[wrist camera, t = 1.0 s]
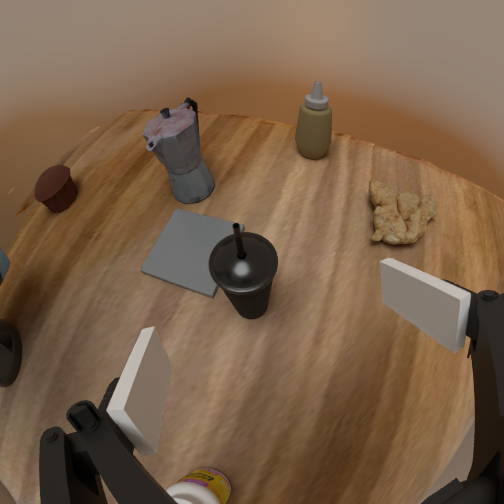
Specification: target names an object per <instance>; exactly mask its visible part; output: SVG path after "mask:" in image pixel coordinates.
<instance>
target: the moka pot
mask: <svg viewBox="0 0 504 504" xmlns="http://www.w3.org/2000/svg"><path fill="white" fill-rule="evenodd" d="M190 106H192V108H193V111H191V110H189V108H190ZM197 109H198V108H197V103H196V102H195V101H193V100H191V99H190V98H187V99H186V100H185V102H184V103H181V104H180V105H179V106H178V108H177V109H173V110H169V108H164V109H162V110H161V111H160V113H161V114H159V115H158V116H156V117H155V118H153V119H152V120H150V121H149V122H148V123H147V125H146V128H145V130H144V132H143V136H144V138H145V139H146V141H147V150H148V151H153V152H154V153H155V155H156V156H157V158H158V159H159V161H160V162H161V163H162V164H163V165H164V166H165V168H166V170H167V172H168V176H169V179H170V183H171V186H172V190H173V193H174V197H175V199H177V200H178V201H180V202H182V203H187V204H191V203H196V202H199V201H201V200H203V199H205V198H206V197H207V196H209V194H210V193H211V192H212V190H213V188H214V180H213V178H212V176H211V173H210V171H209V170H208V168H207V166H206V164H205V162H204V160H203V158H202V156H201V152H200V139H199V127H198V111H197Z"/></svg>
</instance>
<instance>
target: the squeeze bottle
mask: <svg viewBox="0 0 504 504" xmlns="http://www.w3.org/2000/svg"><path fill="white" fill-rule="evenodd" d="M331 127H332V111H331V108H330V107H329V106H328V98H327V97H326V96H324V95H323V92H322V86H321V82H319V81H315V83H314V86H313V89H312V92H311V94H308V95H306V96H305V103H303V104H302V105H301V107H300V111H299V118H298V124H297V129H296V135H295V141H296V143H297V146H298V149H299V152H300V153H301V155H303V156H304V157H306V158H309V159H319V158H321V157H323V156H324V154H325V153H326V151H327V149H328V148H329V146H330V144H331V133H332V128H331Z"/></svg>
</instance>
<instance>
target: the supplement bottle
mask: <svg viewBox="0 0 504 504" xmlns="http://www.w3.org/2000/svg"><path fill="white" fill-rule="evenodd" d="M166 492H167V493H168V494H169V495H170V496H171V497H172V498H173V499H174V500H175V501H176V502H177V503H178V504H226V502H227V500H228V498H229V496H230V493H231V486H230V483H229V481H228V479H227V478H226V477H225V476H224V475H223V474H222V473H220V472H218V471H216V470H214V469H209V468H200V469H196V470H194V471H192V472H190V473H189V474H187V475H186V476H185V477H183V478H182V479H180V480H179V481H177V482H176V483H174V484H173V485H171V486H170V487H169V488H168V489H167V490H166Z"/></svg>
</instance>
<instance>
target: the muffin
mask: <svg viewBox="0 0 504 504" xmlns="http://www.w3.org/2000/svg"><path fill="white" fill-rule="evenodd" d="M77 193H78V191H77V189H76V187H75V185H74V183H73V181H72V178H71V176H70V168H68V167H66V166H63V165H56V166H53V167H50V168H48V169H47V170H45V171H44V172H43V173H42V174H41V176H40V177H39V179H38V181H37V183H36V186H35V199H36V200H37V201H38V202H42V203H43V204H44V205H45V206H47V207H48V208H49V209H50V210H51V211H53V212H54V213H56V212H58V213H61V212H62V211H64V210H66V209H68V208H69V207H70V205H71V204H72V203H73V202H74V201H75V199H76V196H77Z"/></svg>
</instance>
